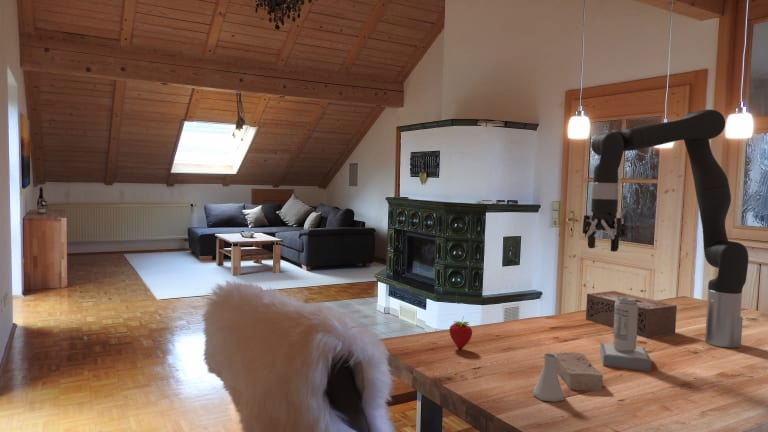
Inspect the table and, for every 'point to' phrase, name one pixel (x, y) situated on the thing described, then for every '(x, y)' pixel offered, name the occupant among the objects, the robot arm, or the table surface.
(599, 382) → the brick
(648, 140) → the robot arm
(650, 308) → the tissue box cover
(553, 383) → the flask
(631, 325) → the energy drink can
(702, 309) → the table surface
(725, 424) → the table surface
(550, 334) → the table surface
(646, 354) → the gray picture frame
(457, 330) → the strawberry
